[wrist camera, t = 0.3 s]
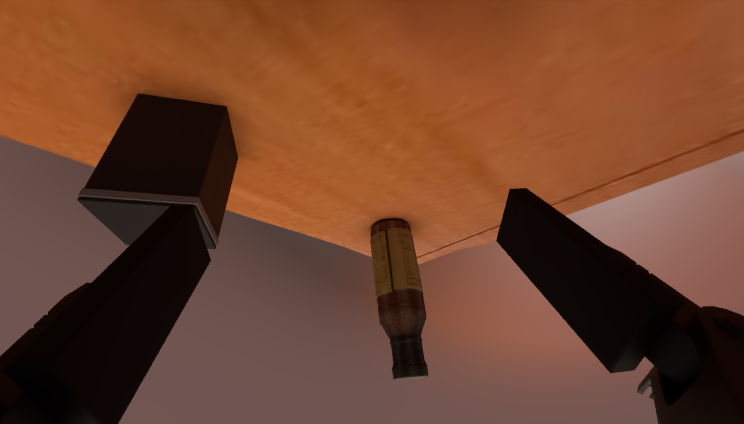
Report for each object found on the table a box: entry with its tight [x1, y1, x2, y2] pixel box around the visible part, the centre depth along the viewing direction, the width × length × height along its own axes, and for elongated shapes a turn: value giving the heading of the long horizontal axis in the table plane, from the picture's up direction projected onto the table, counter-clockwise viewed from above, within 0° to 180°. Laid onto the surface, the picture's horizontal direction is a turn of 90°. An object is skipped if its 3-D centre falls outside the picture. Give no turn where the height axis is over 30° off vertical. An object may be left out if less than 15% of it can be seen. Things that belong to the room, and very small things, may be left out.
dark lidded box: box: [78, 94, 238, 249], centre depth 23 cm, size 6×6×10 cm
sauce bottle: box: [370, 220, 428, 380], centre depth 38 cm, size 7×6×20 cm
